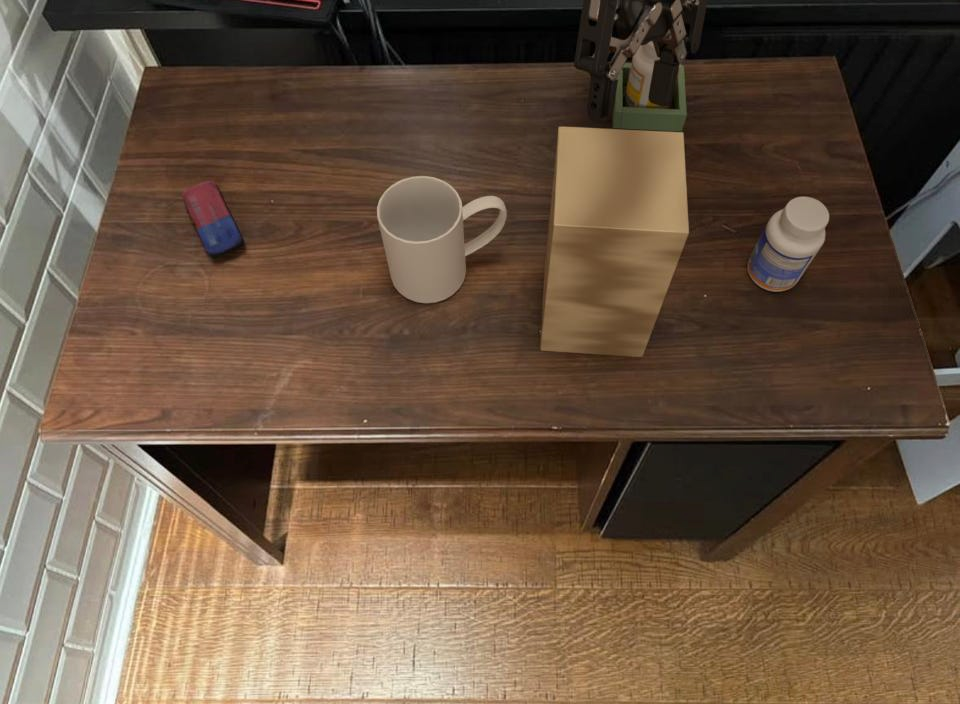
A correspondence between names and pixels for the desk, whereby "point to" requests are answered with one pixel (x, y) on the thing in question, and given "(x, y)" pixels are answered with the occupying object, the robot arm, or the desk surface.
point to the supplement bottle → (642, 78)
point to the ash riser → (612, 238)
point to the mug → (430, 236)
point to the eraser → (213, 219)
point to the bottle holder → (650, 116)
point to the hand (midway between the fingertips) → (630, 112)
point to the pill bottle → (788, 244)
